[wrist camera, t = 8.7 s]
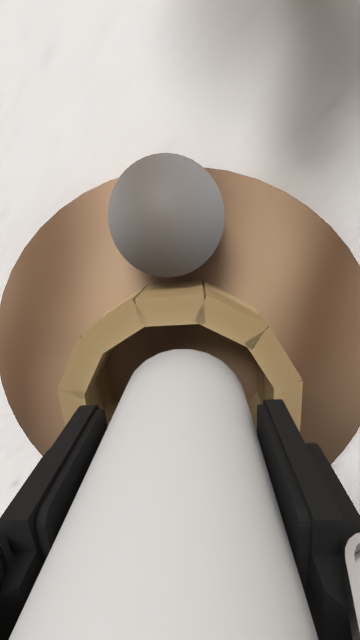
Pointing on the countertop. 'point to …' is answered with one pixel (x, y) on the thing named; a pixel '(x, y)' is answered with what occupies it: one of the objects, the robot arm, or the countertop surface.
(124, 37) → the countertop surface
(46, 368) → the carrier
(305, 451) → the robot arm
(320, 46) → the countertop surface
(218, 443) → the beverage can
